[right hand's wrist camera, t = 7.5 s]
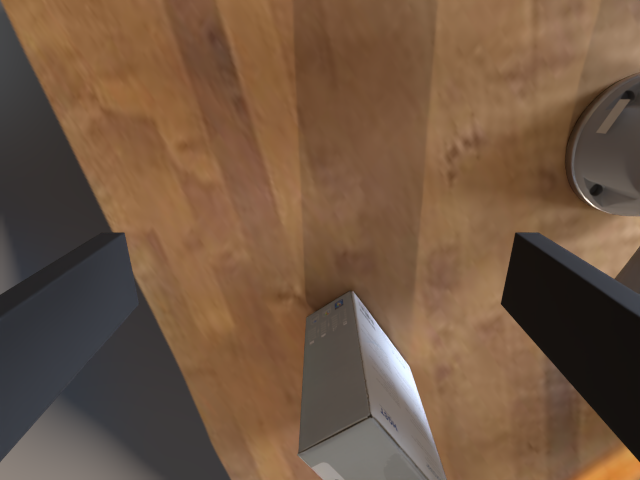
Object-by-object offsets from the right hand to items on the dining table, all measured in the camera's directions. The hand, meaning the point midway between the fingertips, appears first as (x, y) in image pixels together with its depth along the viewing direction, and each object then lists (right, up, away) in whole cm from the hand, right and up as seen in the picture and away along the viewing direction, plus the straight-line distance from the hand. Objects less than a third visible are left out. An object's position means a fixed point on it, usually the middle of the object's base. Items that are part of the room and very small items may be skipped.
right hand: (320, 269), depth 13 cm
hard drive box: (+5, -13, +38) cm, 40 cm away
